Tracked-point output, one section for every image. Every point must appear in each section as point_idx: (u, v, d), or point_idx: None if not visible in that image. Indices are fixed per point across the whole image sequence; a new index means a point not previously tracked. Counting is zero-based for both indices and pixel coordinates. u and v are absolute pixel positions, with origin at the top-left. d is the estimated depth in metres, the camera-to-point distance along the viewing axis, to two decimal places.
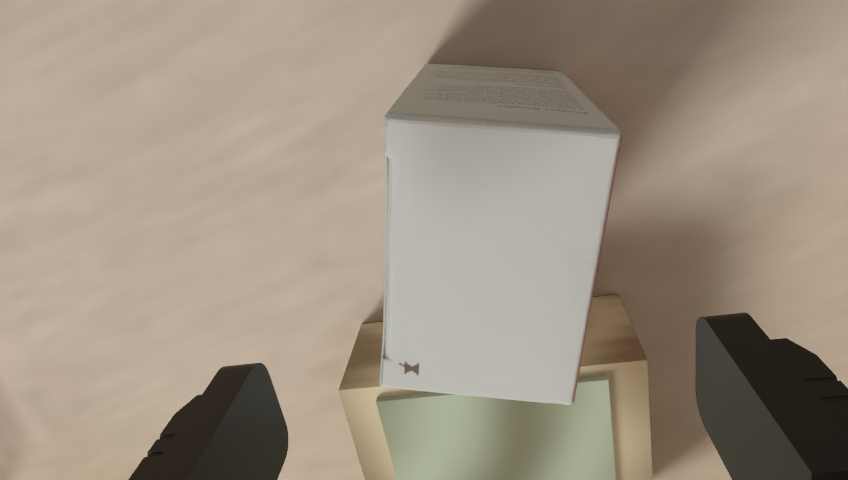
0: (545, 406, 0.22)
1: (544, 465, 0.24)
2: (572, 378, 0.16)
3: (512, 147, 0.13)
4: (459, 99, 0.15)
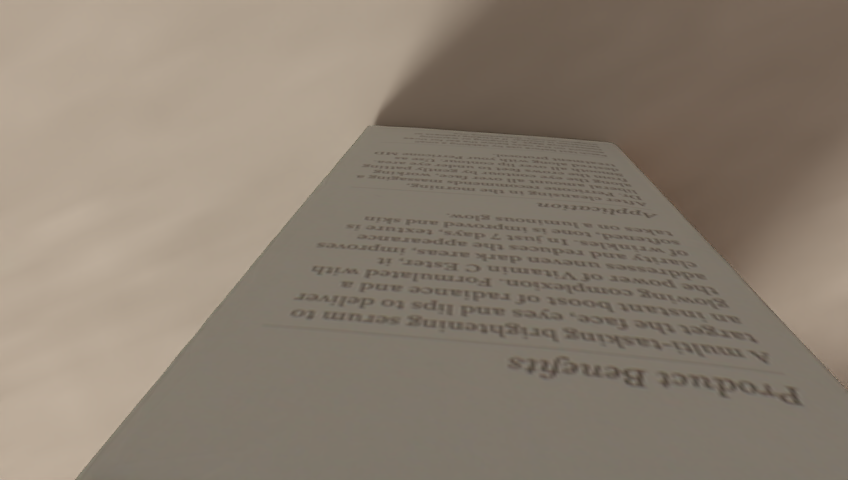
0: None
1: None
2: None
3: None
4: (395, 311, 0.05)
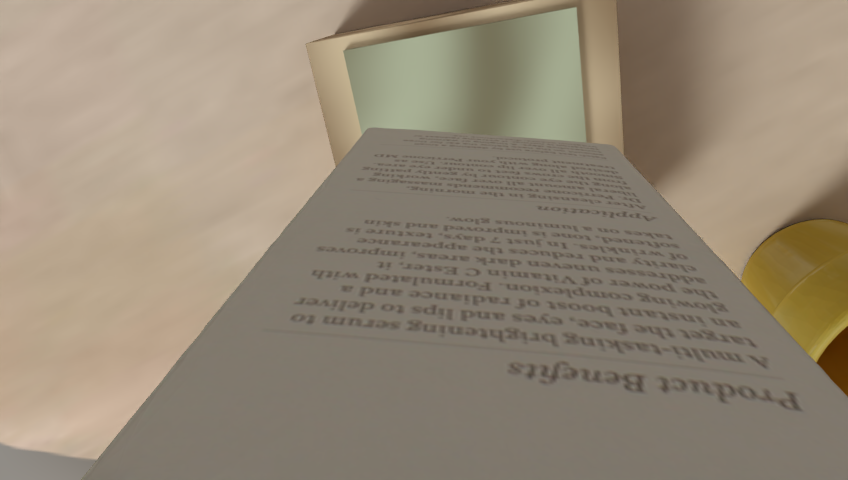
0: (514, 45, 0.22)
1: (514, 124, 0.23)
2: None
3: None
4: (394, 315, 0.05)
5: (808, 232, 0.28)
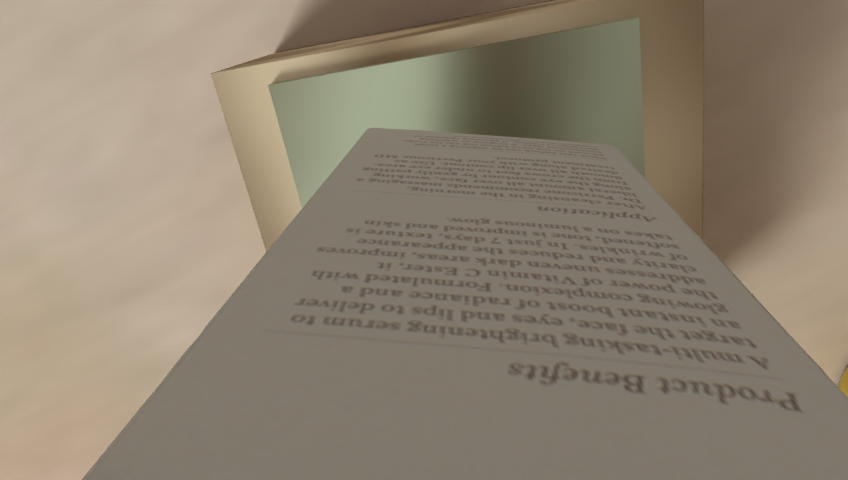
0: (537, 78, 0.14)
1: None
2: None
3: None
4: (395, 316, 0.05)
5: None
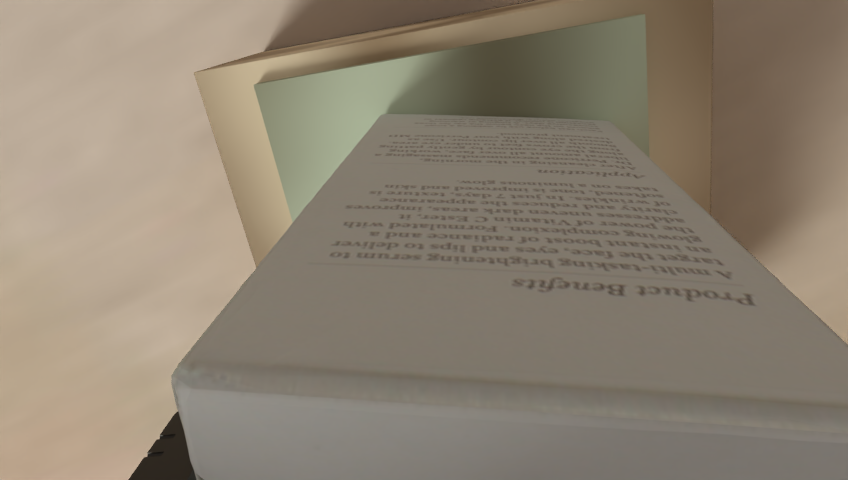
0: (536, 78, 0.13)
1: None
2: None
3: (567, 466, 0.04)
4: (416, 251, 0.06)
5: None
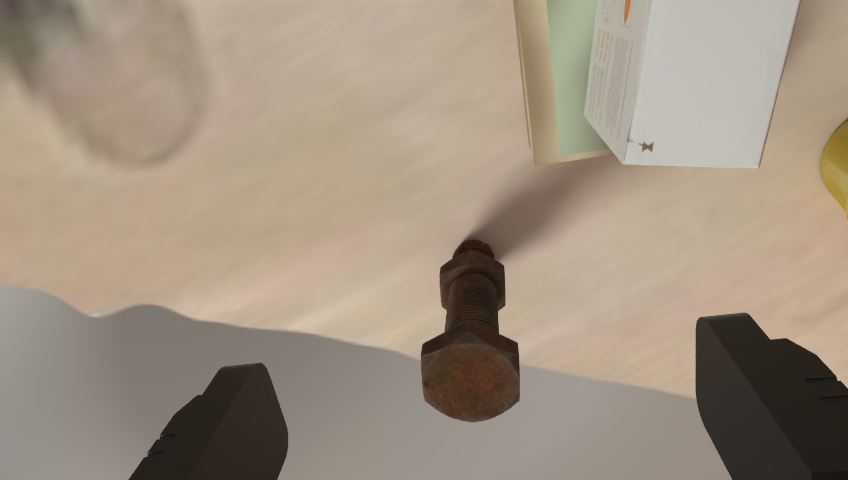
0: None
1: None
2: (761, 146, 0.23)
3: None
4: None
5: None
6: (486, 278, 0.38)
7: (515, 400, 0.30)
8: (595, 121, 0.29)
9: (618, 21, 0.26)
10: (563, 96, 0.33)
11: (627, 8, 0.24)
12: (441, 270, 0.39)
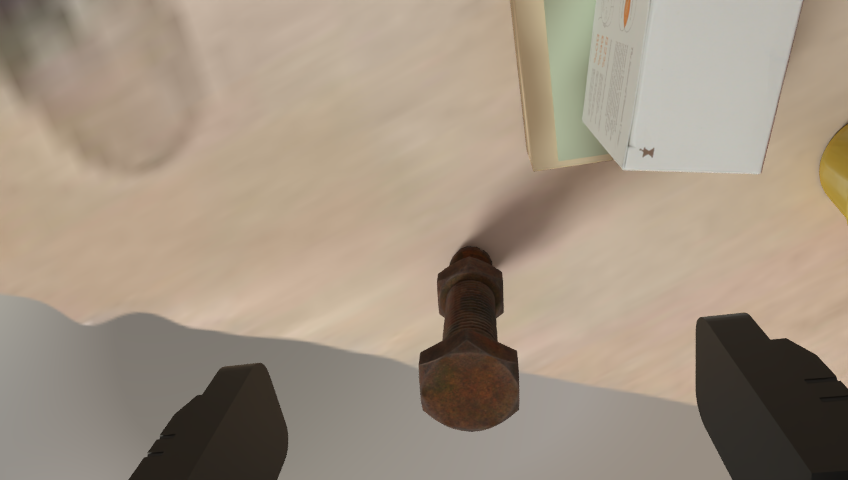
0: None
1: None
2: (763, 152, 0.23)
3: None
4: None
5: None
6: (484, 285, 0.37)
7: (515, 409, 0.30)
8: (594, 126, 0.29)
9: (617, 25, 0.25)
10: (561, 101, 0.33)
11: (626, 12, 0.24)
12: (438, 277, 0.39)
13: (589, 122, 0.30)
